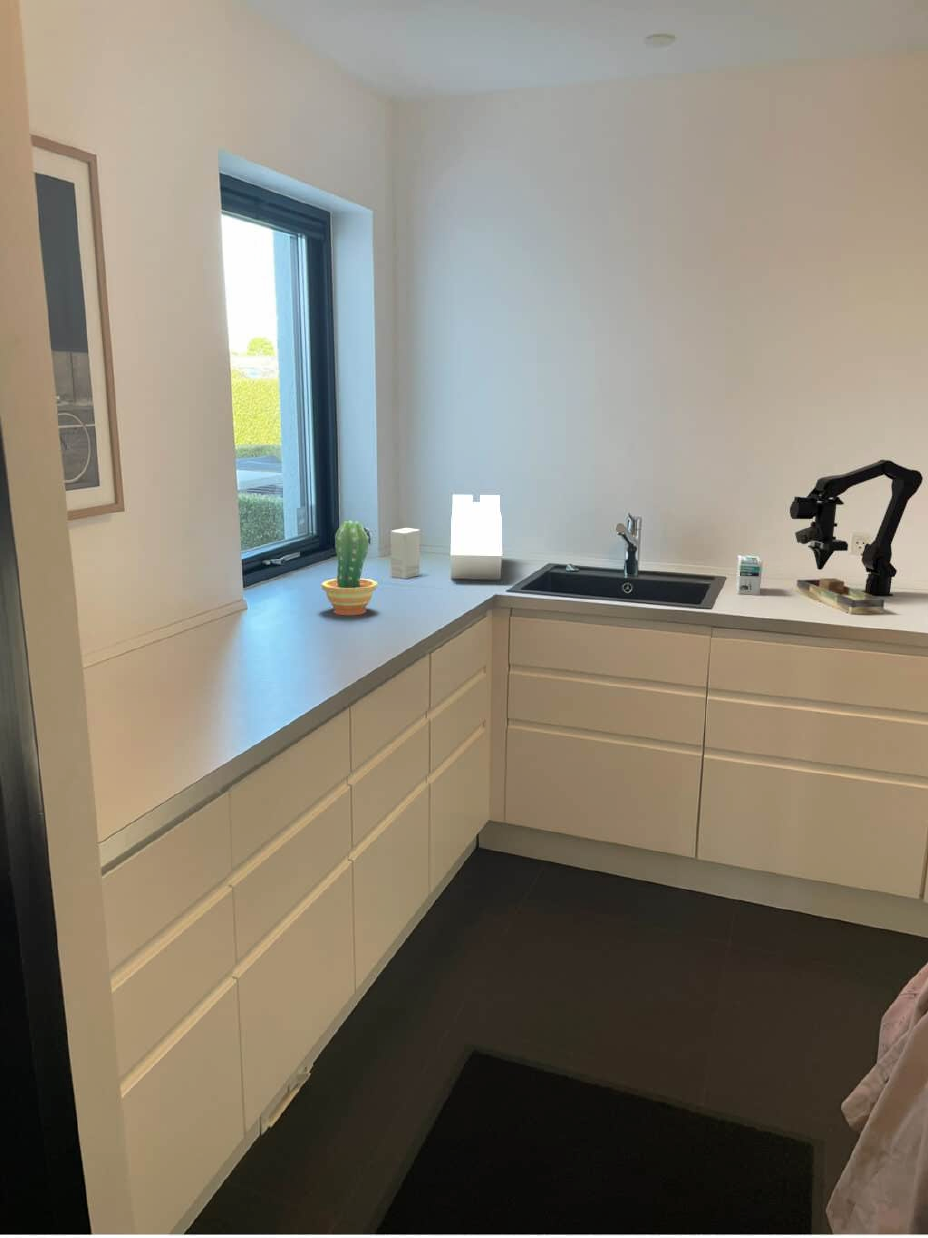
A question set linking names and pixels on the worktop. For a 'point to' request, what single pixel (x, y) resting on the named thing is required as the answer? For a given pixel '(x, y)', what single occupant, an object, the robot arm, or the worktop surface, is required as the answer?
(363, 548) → the potted cactus
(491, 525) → the storage box
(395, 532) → the skincare box
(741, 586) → the light bulb box
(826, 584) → the walnut block
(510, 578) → the worktop surface
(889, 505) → the robot arm
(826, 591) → the box
